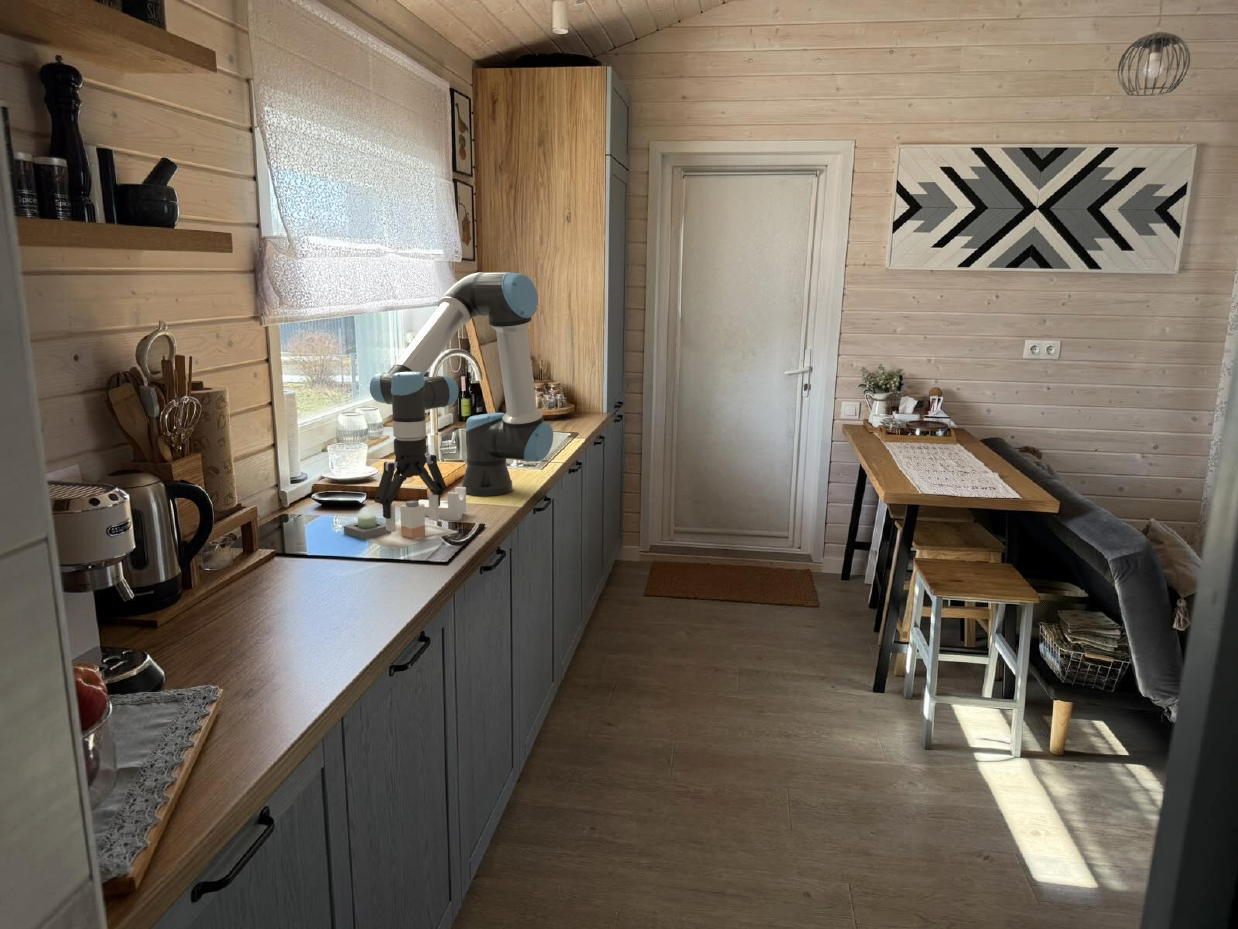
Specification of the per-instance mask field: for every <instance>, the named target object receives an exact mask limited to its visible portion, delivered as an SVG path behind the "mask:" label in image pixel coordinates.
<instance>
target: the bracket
mask: <svg viewBox="0 0 1238 929" xmlns="http://www.w3.org/2000/svg"><path fill="white" fill-rule="evenodd" d="M454 489H455V490H454V491H455V492H447V500H440V506H439V507H438V510H439V520H442V521H456V522H458V521H459V520H460V519H462V518H463V515H464V514H465V513H466V512H467V494H466V487H462V486H456V487H455V488H454ZM417 501H418V502H419V504H421V505H424V513H425V517H429V499H419V500H417Z"/></svg>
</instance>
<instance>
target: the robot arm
mask: <svg viewBox="0 0 1238 929" xmlns="http://www.w3.org/2000/svg"><path fill="white" fill-rule="evenodd" d="M538 296H539V295H538V292H537V288H536V285H535V284H534V282H533V281H532V279H531V278H529V276H528V275H526V274H523V273H519V272H518V273H516V272H508V271H507V272H476V273H471V274H469V275H466V276H465V277H463V278H461V279H460V280H458V281H457V282H455V284H453V285H452V286H451V287H450V288H449V289H448V290H447V291H446V292H445V293H444V294H443V295H442V297H440V299H439V301H438V302H437V307H438V308H437V309H436V310H435V311H434V313H433V314H432V315H431V316H430V318H429V319H428V321H427V322H426V323H425V325H423V327H422V328H421V329H420V331H419V332H418V333H417V335H416V336H415V337H414V338H413V340H412V341H411V342H410V344H408V346H407V348H406V349H405V350H404V351H403V352H402V354H401V355H400V356H399V358H398V359H397V361H396V362H395V363H394V364H393V365H392V367H391V368H389V371H388V372H380V373H377V374H375V375H373V377H372V378H371V380H370V382H369V392H370V395H371V397H372V398H373V400H374V401H375V402H378V403H381V404H387V405H391V406H392V432H393V434H392V435H393V437H394V439H393V453H394V456H395V460H394V461H384V462H383V471H382V476H381V479H380V481H379V485H378V489H377V491H376V494H375V498H374V503H377V504H380V505H382V517H383V518H384V519H385V523H386V530H387V531H391V532H396V525H395V522H396V506H395V504H393V502H394V500H395V498H396V496H397V495H398V493H399V491H400V490H401V487H402V485H403V483H404V482H405V481H406V480H407V478H408V479H409V478H412V477H419V478H420V479H421V481H422V482H423V483H424V484H425V486H426V487H427V488H428V490H429V491H430V493H428V500H429V516H428V517H429V520H431V521H435V522H438V521H440V519H439V510H438V507H439V506H440V501H441V495H443V494H444V491H446V490H447V489H448V488H447V487H448V486H447V484H446V482H445V480H444V477H443V475H442V473H441V469H440V467H439V465H438V461H437V460H438V459H437V455H436V454H431V453H427V439H426V438H425V437H426V435H427V430H426V429H427V428H426V425H427V424H426V411H428V410H433V409H437V408H438V409H439V408H445V407H447V406H450V405H453V404H454V403H455V402H456V401H457V399H458V398H459V386H458V384H457V382H456V381H455V379H454V378H452V377H450V376H448V375H437V376H425V374H426V373H427V372H428V371H429V369H430V368H431V366H432V365H433V364H434V363H435V361H436V360H437V359H438V357H439V356H440V355H441V354H442V352H443V351H444V349H445V348H446V347H447V345H448V343H450V342H451V340H452V338H454V336H455V334H456V333H457V331H459V329H460V328H461V327H462V326H465V325H467V324H468V323H469V322H470V321H471V320H472V319H474V318H475V317H479V316H480V317H481V316H483V317H487V318H488V323H489V327H491V328H492V329H493V330H494V331H495V335H496V342H497V349H498V350H497V351H498V355H499V365H500V370H501V378H502V386H503V393H504V395H503V396H504V400H505V410H506V412H505V413H504V412H492V413H491V412H490V413H484V414H478V415H477V414H475V415H472V416H469V417H468V418H467V420H466V425H465V426H466V427H465V428H466V429H465V440H466V443H465V444H466V446H465V447H466V467H465V472H464V476H463V480H462V482H461V487H466V495H471V496H481V497H484V496H485V497H492V496H493V497H494V496H501V495H505V494H508V493H511V492H512V491H513V482H512V479H511V475H510V472H509V469H508V466H507V460H511V461H513V460H515V461H521V462H526V463H531V462H534V463H539V462H542V461H543V460H544V459H546V457H547V456H548V455H549V453H550V451H551V449H552V446H553V441H554V430H553V427H552V425H551V423H548V422H547V421H544V414H543V412H542V411H541V410H540V409H539V408H537V401H536V393H535V385H534V375H533V369H532V368H533V367H532V360H531V351H530V343H529V335H528V334H529V333H528V326H529V325H530V324H531V323H532V317H533V316H534V315H535V314H536V312H537V310H538V307H537V306H538V304H539V297H538ZM426 453H427V454H426ZM426 465H427V468H428V469H427V468H426V467H425V466H426ZM428 470H429V471H428ZM429 473H430V474H429Z"/></svg>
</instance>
